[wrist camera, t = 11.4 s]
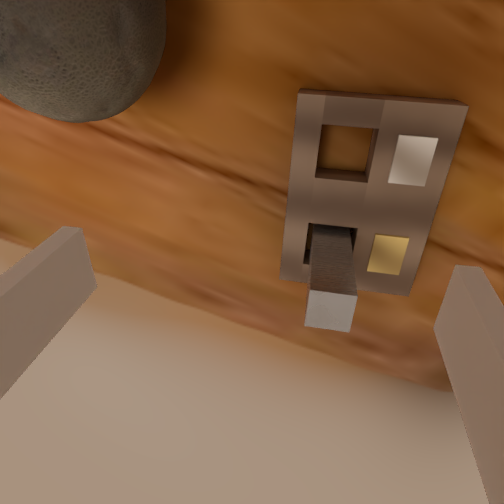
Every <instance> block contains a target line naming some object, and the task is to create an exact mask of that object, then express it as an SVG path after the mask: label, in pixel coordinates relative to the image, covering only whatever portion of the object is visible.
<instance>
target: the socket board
mask: <svg viewBox="0 0 504 504" xmlns="http://www.w3.org/2000/svg"><path fill="white" fill-rule="evenodd" d="M468 108H469V106H468V105H466V104H464V103H462V102H460V101H458V100H449V99H435V98H422V97H408V96H394V95H380V94H367V93H353V92H339V91H325V90H312V89H300V90H299V92H298V98H297V108H296V118H295V128H294V138H293V148H292V158H291V168H290V178H289V188H288V198H287V207H286V217H285V227H284V237H283V247H282V257H281V267H280V277H279V279H281V280H289V281H296V282H304V283H308V270H309V257H310V250H305V245H306V237H307V230H308V223H316V224H325V225H334V226H342V227H351V228H353V233H352V237H351V245H352V253H353V261H354V270H355V278H356V287H357V290H364V291H372V292H379V293H387V294H394V295H402V296H409V294H410V291H411V288H412V285H413V281H414V278H415V275H416V272H417V269H418V266H419V262H420V259H421V256H422V253H423V250H424V247H425V244H426V240H427V237H428V234H429V231H430V228H431V225H432V221H433V218H434V215H435V212H436V209H437V206H438V203H439V199H440V196H441V193H442V190H443V187H444V184H445V180H446V177H447V174H448V171H449V168H450V165H451V161H452V158H453V155H454V152H455V149H456V146H457V143H458V139H459V136H460V133H461V130H462V127H463V124H464V120H465V117H466V114H467V111H468ZM322 124H327V125H339V126H351V127H363V128H374V129H373V134H372V139H371V144H370V149H369V154H368V159H367V164H366V168H365V172H357V171H347V170H336V169H326V168H316V164H317V156H318V149H319V141H320V134H321V127H322Z"/></svg>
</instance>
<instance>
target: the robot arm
mask: <svg viewBox="0 0 504 504" xmlns="http://www.w3.org/2000/svg"><path fill="white" fill-rule="evenodd" d="M96 288H97V284H96V280H95V276H94V272H93V269H92V265H91V261H90V257H89V253H88V249H87V246H86V242H85V238H84V234H83V230H82V228H77V227H67V226H63V227H61V228H60V229H59V230H58V231H56V232H55V233H54V234H53V235H51V236H50V237H49V238H47V239H46V240H45V241H44V242H42V243H41V244H40V245H39V246H37V247H36V248H35V249H33V250H32V251H31V252H30V253H28V254H27V255H26V256H25V257H23V258H22V259H21V260H20V261H18V262H17V263H16V264H14V265H13V266H12V267H11V268H9V269H8V270H7V271H6V272H4V273H3V274H2V275H0V399H1V398H2V397H3V396H4V394H5V393H6V392H7V391H8V390H9V389H10V387H11V386H12V385H13V384H14V383H15V382H16V381H17V379H18V378H19V377H20V376H21V375H22V374H23V372H24V371H25V370H26V369H27V368H28V366H29V365H30V364H31V363H32V362H33V361H34V360H35V359H36V357H37V356H38V355H39V354H40V353H41V352H42V350H43V349H44V348H45V347H46V346H47V345H48V343H49V342H50V341H51V340H52V339H53V337H55V335H56V334H57V333H58V332H59V331H60V330H61V328H62V327H63V326H64V325H65V324H66V323H67V321H68V320H69V319H70V318H71V317H72V316H73V314H74V313H75V312H76V311H77V310H78V309H79V308H80V306H81V305H82V304H83V303H84V302H85V301H86V299H87V298H88V297H89V296H90V295H91V294H92V293H93V291H94V290H95V289H96ZM433 329H434V332H435V335H436V338H437V341H438V344H439V347H440V350H441V354H442V357H443V360H444V363H445V366H446V369H447V372H448V376H449V379H450V382H451V385H452V388H453V391H454V394H455V398H456V400H457V403H458V407H459V410H460V413H461V416H462V420H463V422H464V426H465V429H466V432H467V435H468V438H469V441H470V445H471V448H472V451H473V454H474V457H475V460H476V463H477V467H478V470H479V473H480V476H481V479H482V482H483V485H484V488H485V492H486V495H487V498H488V501H489V504H504V306H503V304H502V303H501V301H500V299H499V297H498V296H497V294H496V292H495V291H494V289H493V287H492V285H491V284H490V282H489V280H488V279H487V277H486V275H485V273H484V272H483V270H482V268H481V267H473V266H463V265H455V268H454V271H453V273H452V276H451V279H450V282H449V285H448V288H447V291H446V293H445V296H444V299H443V302H442V305H441V308H440V311H439V314H438V316H437V319H436V322H435V325H434V328H433Z"/></svg>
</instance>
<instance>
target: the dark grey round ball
mask: <svg viewBox="0 0 504 504" xmlns="http://www.w3.org/2000/svg"><path fill="white" fill-rule="evenodd" d="M165 40H166V5H165V0H0V93H1V94H2V95H3V96H5V97H6V98H7V99H9V100H10V101H12V102H13V103H15V104H17V105H19V106H20V107H22V108H24V109H26V110H29V111H31V112H34V113H37V114H40V115H43V116H46V117H49V118H53V119H56V120H61V121H66V122H73V123H81V122H89V121H98V120H103V119H106V118H109V117H112V116H114V115H117V114H119V113H121V112H122V111H124V110H126V109H127V108H128V107H130V106H131V105H132V104H133V103H135V102H136V101H137V100H138V99H139V98H140V97H141V96H142V94H143V93H144V92H145V90H146V89H147V88H148V86H149V85H150V83H151V81H152V79H153V77H154V74H155V72H156V70H157V68H158V66H159V63H160V60H161V58H162V55H163V51H164V47H165Z"/></svg>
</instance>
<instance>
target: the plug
mask: <svg viewBox="0 0 504 504" xmlns="http://www.w3.org/2000/svg"><path fill="white" fill-rule="evenodd" d="M357 297H358V295H357V287H356V278H355V270H354V261H353V253H352V245H351V236H350V228H349V227H342V226H334V225H325V224H316V223H313V230H312V237H311V244H310V257H309V270H308V284H307V297H306V311H305V324H304V326H310V327H317V328H323V329H330V330H337V331H344V332H349V331H350V327H351V323H352V318H353V314H354V310H355V306H356V301H357Z"/></svg>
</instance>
